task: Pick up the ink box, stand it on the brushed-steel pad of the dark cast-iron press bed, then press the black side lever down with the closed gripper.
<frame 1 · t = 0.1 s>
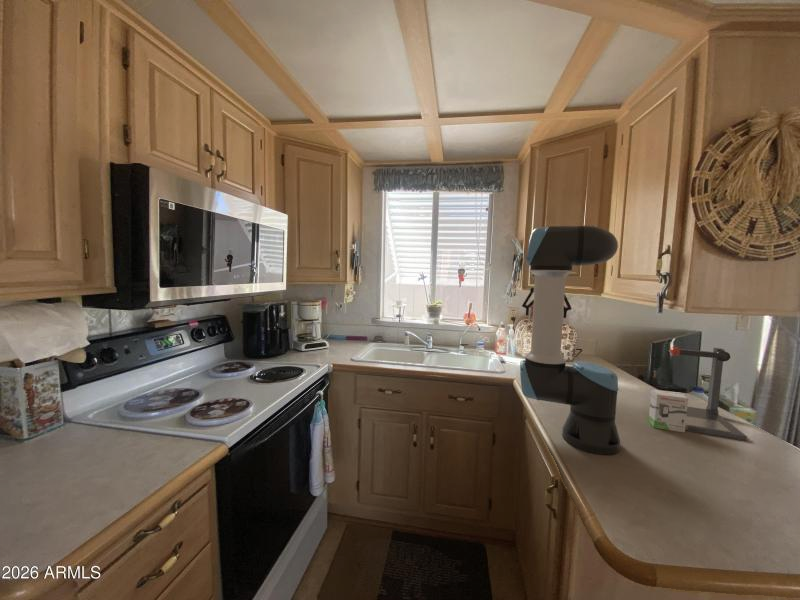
hand: (545, 324, 145), 28 cm above the worktop, fingers open, 13 cm apart
ink box: (665, 427, 108), on the worktop
lever: (698, 353, 116), point 23 cm above the worktop, hinge at 0.0°
press: (702, 422, 112), on the worktop
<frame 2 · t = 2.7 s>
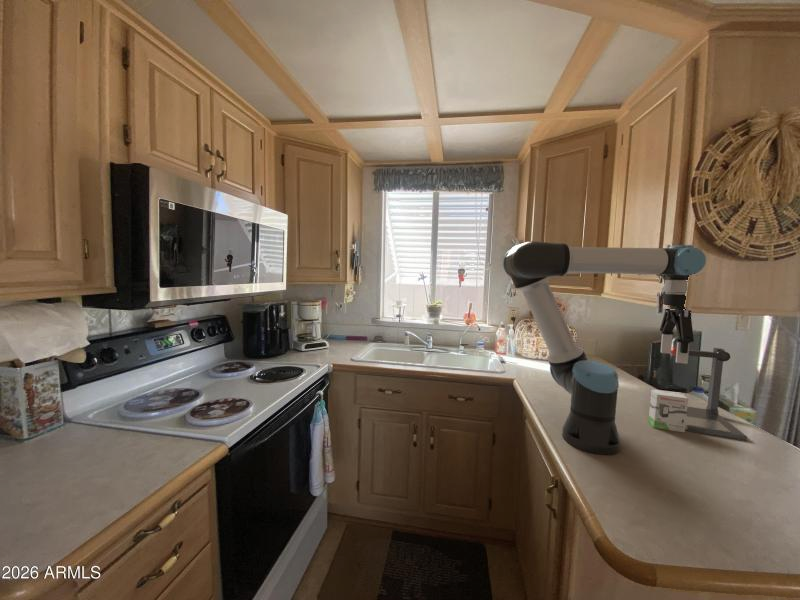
hand: (673, 357, 105), 24 cm above the worktop, fingers open, 13 cm apart
nothing on the worktop moved.
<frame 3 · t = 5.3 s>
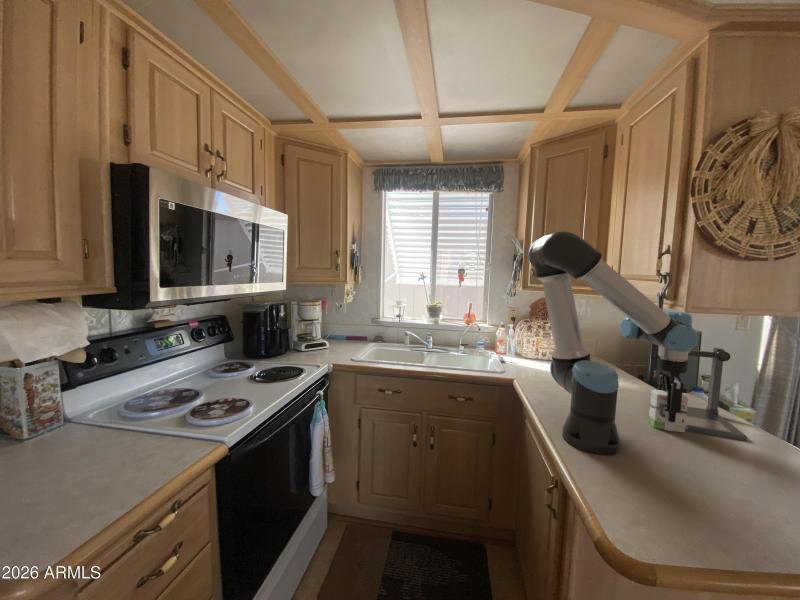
hand: (666, 426, 108), 0 cm above the worktop, fingers closed on ink box, 5 cm apart
ink box: (666, 427, 108), on the worktop, touching gripper
everything else where it was.
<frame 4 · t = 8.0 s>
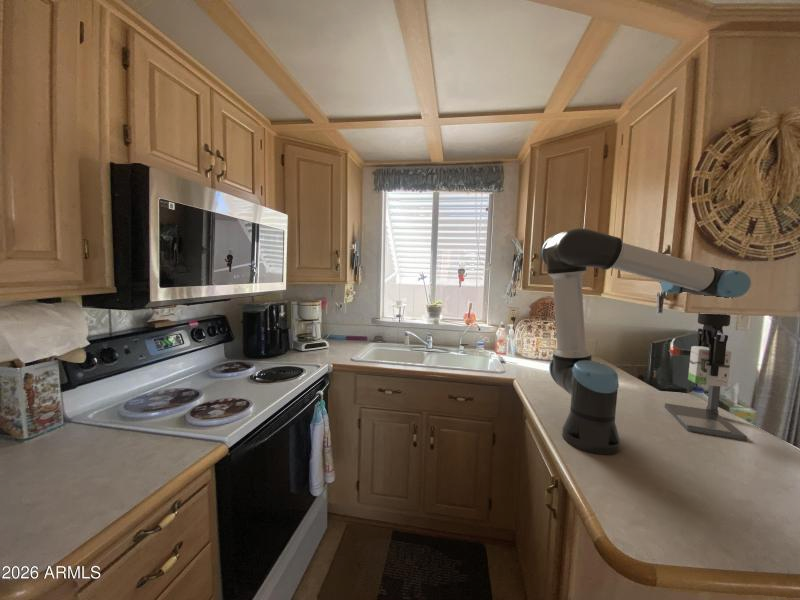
hand: (706, 382, 106), 16 cm above the worktop, fingers closed on ink box, 5 cm apart
ink box: (706, 383, 106), point 15 cm above the worktop, touching gripper
everything else where it was.
when the fingers open (3 cm above the worktop, at t = 10.5 s): ink box stays where it is, resting on press.
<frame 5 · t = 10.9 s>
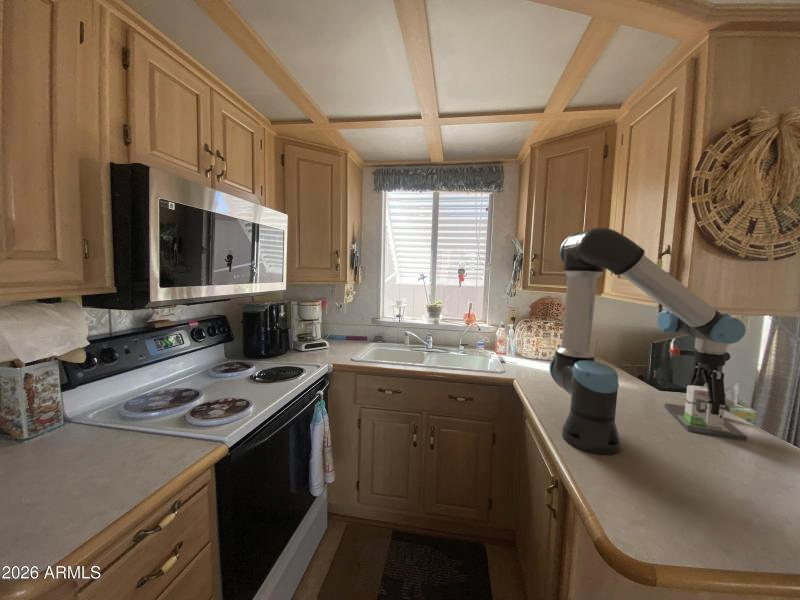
hand: (703, 415, 107), 4 cm above the worktop, fingers open, 11 cm apart
ink box: (702, 423, 107), point 2 cm above the worktop, touching press
everything else where it was.
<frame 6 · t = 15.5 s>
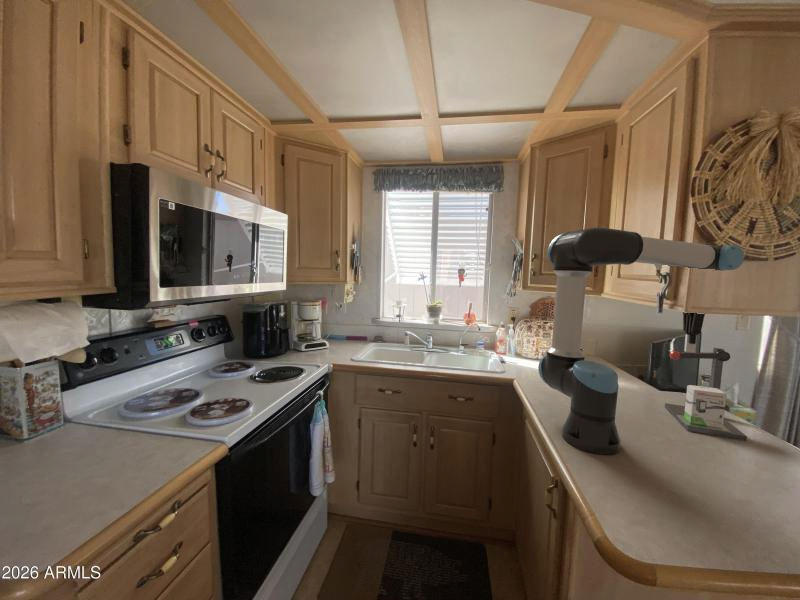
hand: (689, 351, 117), 23 cm above the worktop, fingers closed
lever: (698, 355, 116), point 22 cm above the worktop, hinge at 6.2°, touching gripper
everything else where it was.
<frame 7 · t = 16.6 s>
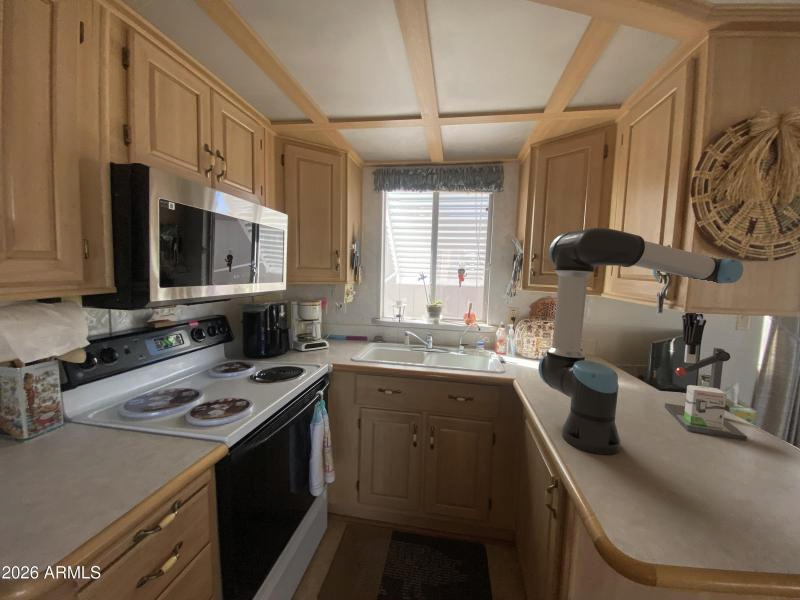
hand: (689, 362, 117), 19 cm above the worktop, fingers closed
lever: (701, 363, 116), point 19 cm above the worktop, hinge at 34.1°, touching gripper
everything else where it was.
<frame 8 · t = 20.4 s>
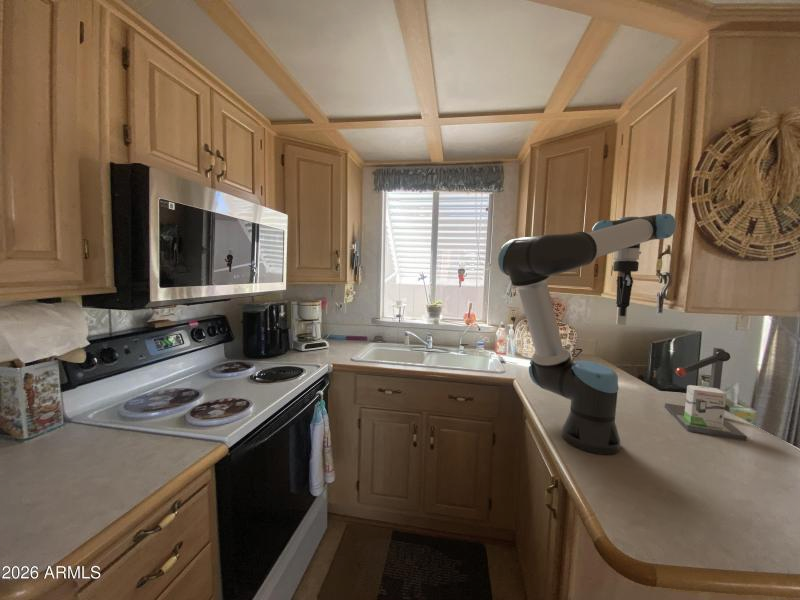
hand: (620, 324, 119), 32 cm above the worktop, fingers closed
lever: (701, 363, 116), point 19 cm above the worktop, hinge at 34.3°
everything else where it was.
at the end: ink box inside the target area on the press (0.2 cm from its centre), point 1.7 cm above the press's base; ink box tilted 0°; lever at +34° (first picture: +0°) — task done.
